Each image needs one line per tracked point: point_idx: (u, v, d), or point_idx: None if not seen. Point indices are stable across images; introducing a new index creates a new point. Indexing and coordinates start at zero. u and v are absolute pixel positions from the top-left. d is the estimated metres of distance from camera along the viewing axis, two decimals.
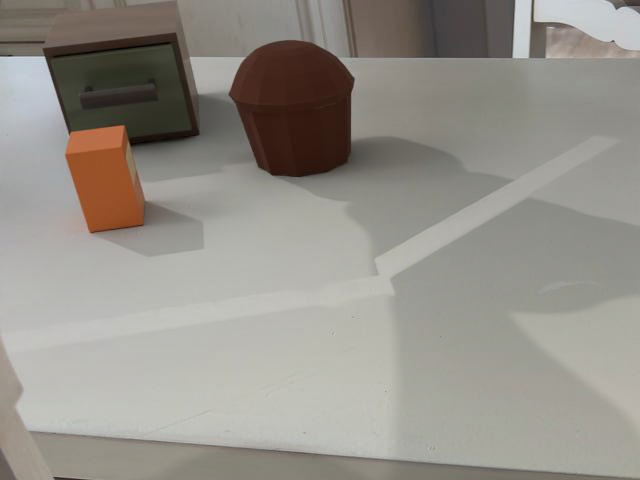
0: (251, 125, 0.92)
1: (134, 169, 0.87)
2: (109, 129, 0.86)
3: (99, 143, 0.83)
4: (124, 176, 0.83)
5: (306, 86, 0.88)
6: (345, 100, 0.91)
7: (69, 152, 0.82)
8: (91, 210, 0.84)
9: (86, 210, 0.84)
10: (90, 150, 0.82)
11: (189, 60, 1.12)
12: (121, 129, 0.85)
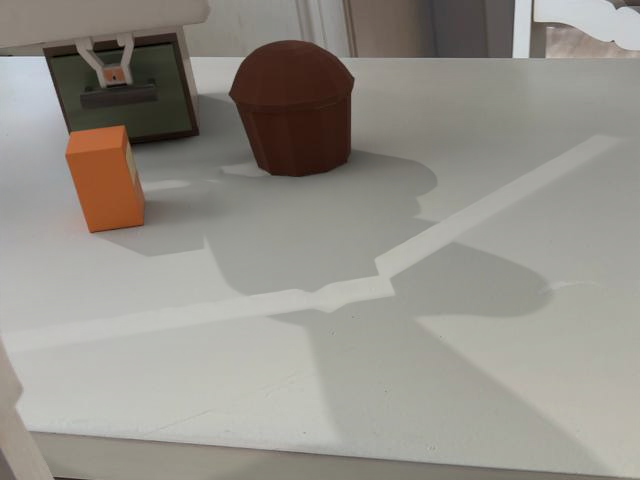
0: (251, 125, 0.92)
1: (134, 169, 0.87)
2: (109, 129, 0.86)
3: (99, 143, 0.83)
4: (124, 176, 0.83)
5: (306, 86, 0.88)
6: (345, 100, 0.91)
7: (69, 152, 0.82)
8: (91, 210, 0.84)
9: (86, 210, 0.84)
10: (90, 150, 0.82)
11: (189, 60, 1.12)
12: (121, 129, 0.85)
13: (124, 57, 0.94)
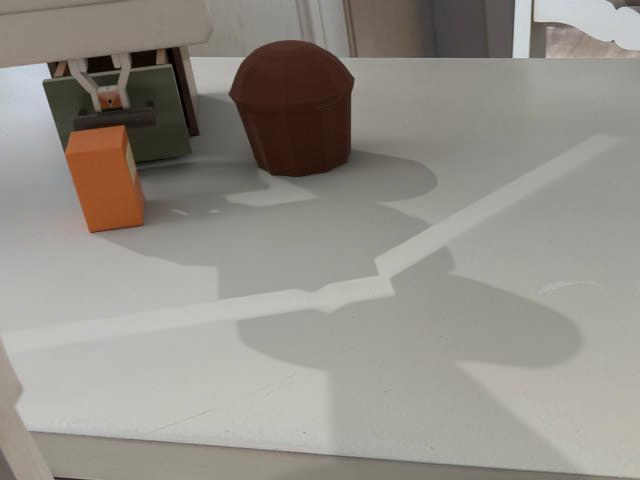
0: (251, 125, 0.92)
1: (134, 169, 0.87)
2: (109, 129, 0.86)
3: (99, 143, 0.83)
4: (124, 176, 0.83)
5: (306, 86, 0.88)
6: (345, 100, 0.91)
7: (69, 152, 0.82)
8: (91, 210, 0.84)
9: (86, 210, 0.84)
10: (90, 150, 0.82)
11: (189, 60, 1.12)
12: (121, 129, 0.85)
13: (120, 79, 0.88)
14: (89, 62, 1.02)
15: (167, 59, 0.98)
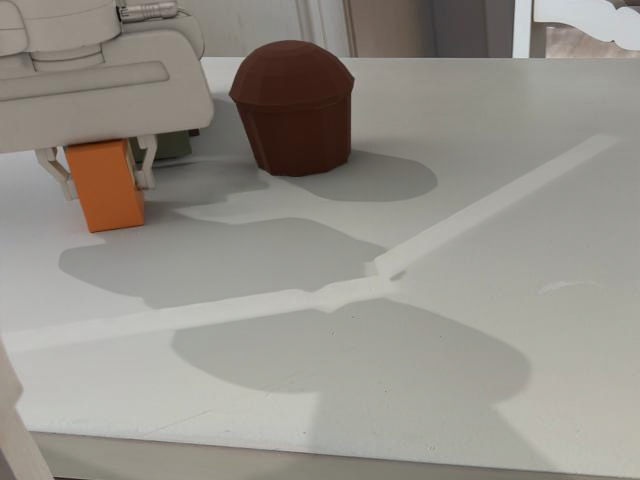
0: (251, 125, 0.92)
1: None
2: None
3: (99, 143, 0.83)
4: (124, 176, 0.83)
5: (306, 86, 0.88)
6: (345, 100, 0.91)
7: (69, 152, 0.82)
8: (91, 210, 0.84)
9: (86, 210, 0.84)
10: (90, 150, 0.82)
11: None
12: None
13: None
14: None
15: None
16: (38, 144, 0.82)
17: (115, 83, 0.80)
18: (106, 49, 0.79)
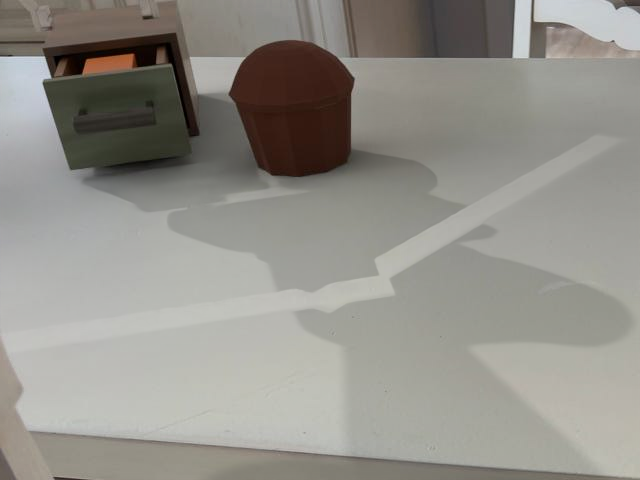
0: (251, 125, 0.92)
1: None
2: (120, 56, 0.97)
3: (112, 66, 0.94)
4: None
5: (306, 86, 0.88)
6: (345, 100, 0.91)
7: None
8: None
9: None
10: None
11: (189, 60, 1.12)
12: (131, 57, 0.96)
13: None
14: None
15: (167, 59, 0.98)
16: None
17: None
18: None
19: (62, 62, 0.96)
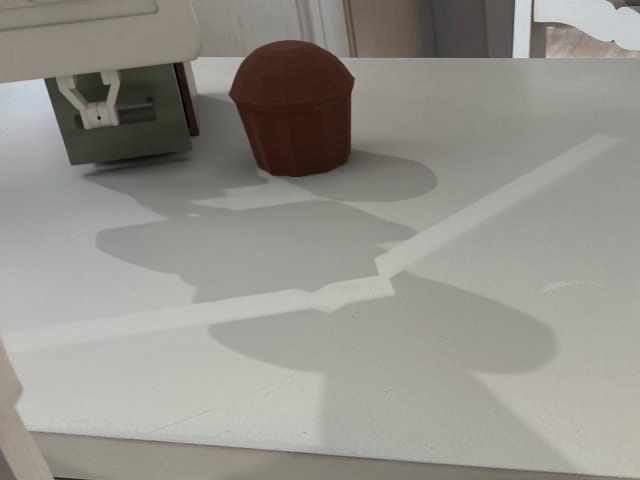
0: (251, 125, 0.92)
1: None
2: None
3: None
4: None
5: (306, 86, 0.88)
6: (345, 100, 0.91)
7: None
8: None
9: None
10: None
11: None
12: None
13: None
14: None
15: None
16: (32, 74, 0.85)
17: (106, 15, 0.83)
18: None
19: None
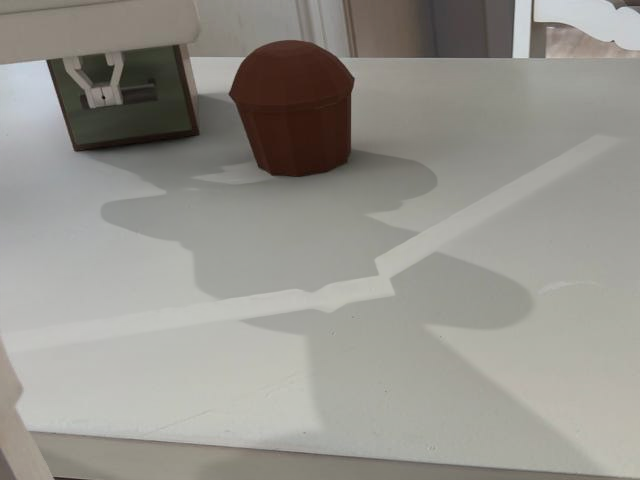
0: (251, 125, 0.92)
1: None
2: None
3: None
4: None
5: (306, 86, 0.88)
6: (345, 100, 0.91)
7: None
8: None
9: None
10: None
11: (189, 60, 1.12)
12: None
13: None
14: None
15: None
16: (40, 55, 0.90)
17: None
18: None
19: None
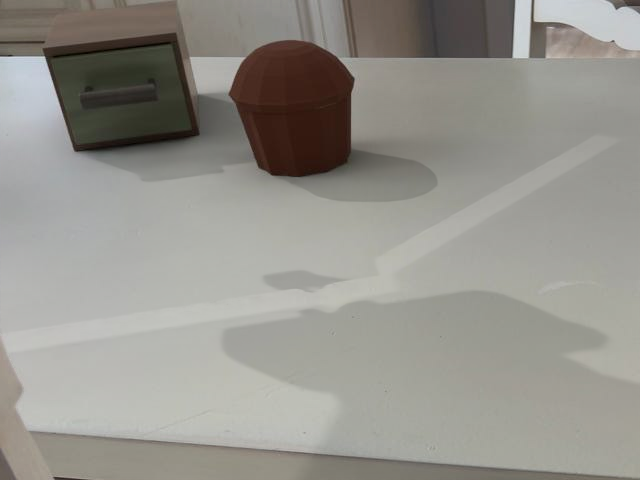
0: (251, 125, 0.92)
1: None
2: None
3: None
4: None
5: (306, 86, 0.88)
6: (345, 100, 0.91)
7: None
8: None
9: None
10: None
11: (189, 60, 1.12)
12: None
13: None
14: None
15: None
16: None
17: None
18: None
19: None
